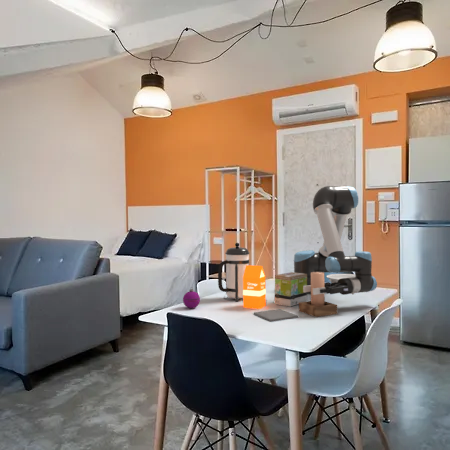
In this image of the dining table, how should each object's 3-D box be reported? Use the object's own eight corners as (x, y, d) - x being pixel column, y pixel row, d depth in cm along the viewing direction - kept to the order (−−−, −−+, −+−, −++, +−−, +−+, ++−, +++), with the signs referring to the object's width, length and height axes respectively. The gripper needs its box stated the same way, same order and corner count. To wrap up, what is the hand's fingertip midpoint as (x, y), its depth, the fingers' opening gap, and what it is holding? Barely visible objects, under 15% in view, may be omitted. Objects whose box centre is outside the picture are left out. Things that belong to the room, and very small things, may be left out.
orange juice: (249, 304, 198) (248, 264, 198) (265, 305, 194) (265, 265, 194) (243, 307, 191) (242, 266, 191) (260, 309, 187) (259, 266, 187)
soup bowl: (370, 291, 228) (370, 280, 228) (327, 290, 232) (327, 279, 232) (363, 284, 251) (363, 274, 251) (324, 283, 256) (324, 273, 256)
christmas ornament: (184, 310, 187) (183, 289, 186) (182, 306, 195) (182, 286, 194) (201, 309, 188) (200, 288, 188) (199, 305, 196) (198, 285, 196)
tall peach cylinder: (308, 311, 181) (308, 272, 181) (318, 310, 184) (318, 271, 183) (316, 314, 176) (316, 274, 175) (327, 313, 178) (327, 273, 178)
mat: (253, 314, 178) (253, 312, 178) (280, 310, 184) (280, 309, 184) (270, 321, 165) (270, 319, 165) (298, 317, 171) (298, 315, 171)
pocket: (298, 311, 182) (298, 302, 182) (319, 308, 188) (319, 299, 187) (315, 317, 172) (315, 307, 171) (337, 313, 177) (337, 304, 177)
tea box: (291, 307, 191) (291, 276, 191) (274, 304, 198) (273, 274, 197) (307, 302, 202) (307, 273, 202) (290, 299, 209) (290, 271, 208)
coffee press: (225, 295, 220) (224, 241, 219) (253, 296, 217) (253, 241, 216) (218, 302, 203) (217, 243, 202) (249, 303, 200) (248, 243, 199)
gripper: (363, 297, 179) (322, 302, 169) (334, 290, 196) (295, 295, 186) (363, 280, 179) (322, 285, 168) (334, 275, 196) (295, 279, 186)
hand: (308, 290), depth 177 cm, fingers closed on tall peach cylinder, 6 cm apart
